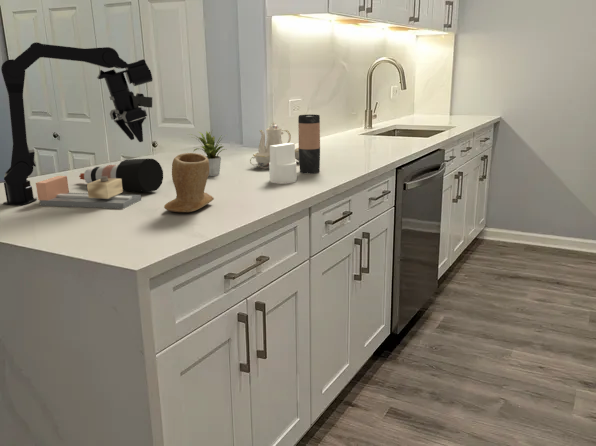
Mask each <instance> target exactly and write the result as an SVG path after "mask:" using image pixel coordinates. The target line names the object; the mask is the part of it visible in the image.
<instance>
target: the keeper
mask: <svg viewBox="0 0 596 446" xmlns="http://www.w3.org/2000/svg"><path fill="white" fill-rule="evenodd" d="M86 186H87V188H86V189H87V193H88V197H89V198H105V199H108V198H111V197H113V196H115V195H118V194H121V193H124V190H123V188H122V179H117V178H108V177H107V176H103V177H100V179H99V180H96V181H93V182H91V183H88V184H87V183H86Z"/></svg>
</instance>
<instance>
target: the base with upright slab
mask: <svg viewBox="0 0 596 446" xmlns="http://www.w3.org/2000/svg"><path fill="white" fill-rule="evenodd" d="M295 144H296V143H293V142H289V143H287V142H285V143H283V144H278V145H272V146H270V163H269V166H268V167H269V168H268V169H269V182H270V183H272V184H292V183H295V182H297V180H298V177H297V171H298V170H297V162H296V159H295V149H296V148H295V147H296V145H295Z"/></svg>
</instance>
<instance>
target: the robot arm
mask: <svg viewBox="0 0 596 446" xmlns="http://www.w3.org/2000/svg"><path fill="white" fill-rule="evenodd" d="M40 58H44V59H53V60H61V61H62V60H63V61H71V62H72V61H73V62H80V63H81V62H83V63H87V64H91V65H94V66H97V67H101V68H105V69H111V70H105V71H104V70H102V69H100V70H99V72H98V75H97V77H96V80H97V79H98V80H102V79H104V81H105V84H106V86H107V89H108V93H109V99H110V101H112V103H113V106H114V109H111V110H110V112H109V116H110V119H111V120H113V123H115V124H116V125H117V126H118V128H119V129H120V130H121V131H122V132H123V133H124V134H125V135H126V136H127V137H128V139H130V140H129V141H133V140H135V138H136V141H138V143H143V142H144V134H143V124H144V122H145V120H147V116H148V114H147V110H146V109H145V108H151V109H152V108H153V97H152V96H145V95H144V94H143V93H138V92H137V93H134V92H133V91H131V90H130V87H129V85H133V87H137V86H140V85H144V84H148V83H151V82H153V75H152V72H151V69H150V68H149V66H148V64H147V63H146V60H145V59H140V60H136V61H135V62H131V63H127V61H125V60H123V59H122V58H121V57H120V55H119V53H118V52H117V50H116V49H115V48H112V47H109V46H108V47H107V46H106V47H104V46H103V47H93V48H92V47H91V48H89V47H88V48H83V47H82V48H81V47H75V46H74V47H72V46H65V45H55V44H54V45H53V44H47V43H40V42H33V43H31V44H30V46H29V47H28V48H26V49H25V50H24V51H22V53H20V54H19V55H18V56H17V57H16V58H15V59H8V60H5V61H4V62H3V63H2V65H1V66H0V67H1V75H2V77H3V81H4V85H5V88H6V90H7V94H8V104H9V114H10V124H11V126H10V127H11V137H12V151H11V152H12V153H11V160H10V167H9V169H7V170H6V172H4V176H3V180H4V182H3V186H4V192H5V197H6V201H4V202H2V205H10V206H11V205H13V206H23V205H26V204H29V203H31V202H35V201H37V199H38V198H37V197H36V198H35V197H34V192H33V187H32V185H31V180H28V177H29V176H30V175H32V173H33V171H34V167H36V166H37V164H36V161H35V152H36V151H35V149H30V148H29V145H28V137H27V126H26V115H25V105H24V104H25V102H24V89H25V88H24V87H25V86H24V85H25V79H26V78H25V77H26V70H27V69H28V68H30V67H31V66H32V65H33V64H34V63H35V62H37V61H38V60H39V59H40ZM112 68H113V69H112ZM115 68H116V69H119V70H121V69H124V70H121V71H116V70H115ZM128 84H129V85H128ZM134 94H135V95H134ZM143 107H144V108H143Z"/></svg>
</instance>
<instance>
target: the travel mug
mask: <svg viewBox="0 0 596 446" xmlns="http://www.w3.org/2000/svg"><path fill="white" fill-rule="evenodd" d="M320 119H321V118H320V114H300V115H298V119H297V120H298V122H297V123H298V124H297V125H298V128H297V129H298V148H299V161H298V162H299V172H300V173H301V174H304V175H305V174H306V175H308V174H309V175H311V174H312V175H313V174H318V173H320V172H321V171H320V169H321V168H320V167H321V163H320V162H321V121H320Z"/></svg>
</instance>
